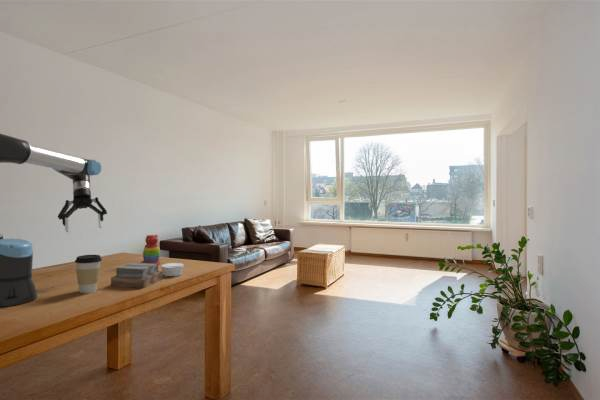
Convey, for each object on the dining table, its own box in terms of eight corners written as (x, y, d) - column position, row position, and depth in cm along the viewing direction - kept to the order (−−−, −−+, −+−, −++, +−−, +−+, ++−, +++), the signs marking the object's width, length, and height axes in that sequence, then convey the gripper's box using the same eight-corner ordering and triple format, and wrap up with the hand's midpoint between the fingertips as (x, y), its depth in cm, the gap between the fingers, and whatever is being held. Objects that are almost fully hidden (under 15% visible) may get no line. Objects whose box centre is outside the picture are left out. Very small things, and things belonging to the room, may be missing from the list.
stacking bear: (157, 262, 206) (158, 233, 206) (163, 264, 198) (163, 235, 198) (139, 264, 199) (139, 234, 199) (143, 267, 191) (144, 236, 191)
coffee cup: (93, 286, 150) (94, 253, 150) (105, 290, 145) (106, 256, 145) (69, 291, 142) (70, 256, 142) (81, 295, 137) (82, 259, 137)
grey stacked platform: (143, 288, 150) (143, 270, 150) (110, 286, 152) (111, 268, 152) (162, 279, 166) (162, 263, 166) (132, 277, 168) (132, 261, 168)
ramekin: (163, 278, 168) (164, 268, 168) (158, 273, 177) (158, 264, 177) (186, 275, 175) (186, 265, 175) (180, 271, 184) (180, 261, 184)
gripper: (110, 193, 178) (114, 228, 169) (54, 198, 167) (54, 236, 158) (109, 185, 172) (112, 221, 163) (50, 190, 161) (50, 229, 152)
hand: (83, 228), depth 161 cm, fingers open, 13 cm apart
